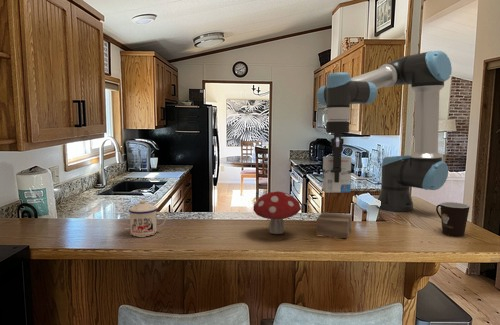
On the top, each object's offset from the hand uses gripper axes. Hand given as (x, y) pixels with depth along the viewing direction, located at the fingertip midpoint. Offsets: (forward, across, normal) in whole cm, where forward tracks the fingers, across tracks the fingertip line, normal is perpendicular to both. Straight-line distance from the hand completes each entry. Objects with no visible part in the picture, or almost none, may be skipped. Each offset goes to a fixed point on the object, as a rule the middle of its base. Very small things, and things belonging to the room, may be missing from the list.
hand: (336, 190), depth 122 cm
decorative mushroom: (+15, +6, -19) cm, 25 cm away
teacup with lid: (+15, +14, -62) cm, 66 cm away
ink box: (+1, 0, 0) cm, 1 cm away
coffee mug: (+15, -9, +39) cm, 43 cm away
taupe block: (+15, 0, 0) cm, 15 cm away
